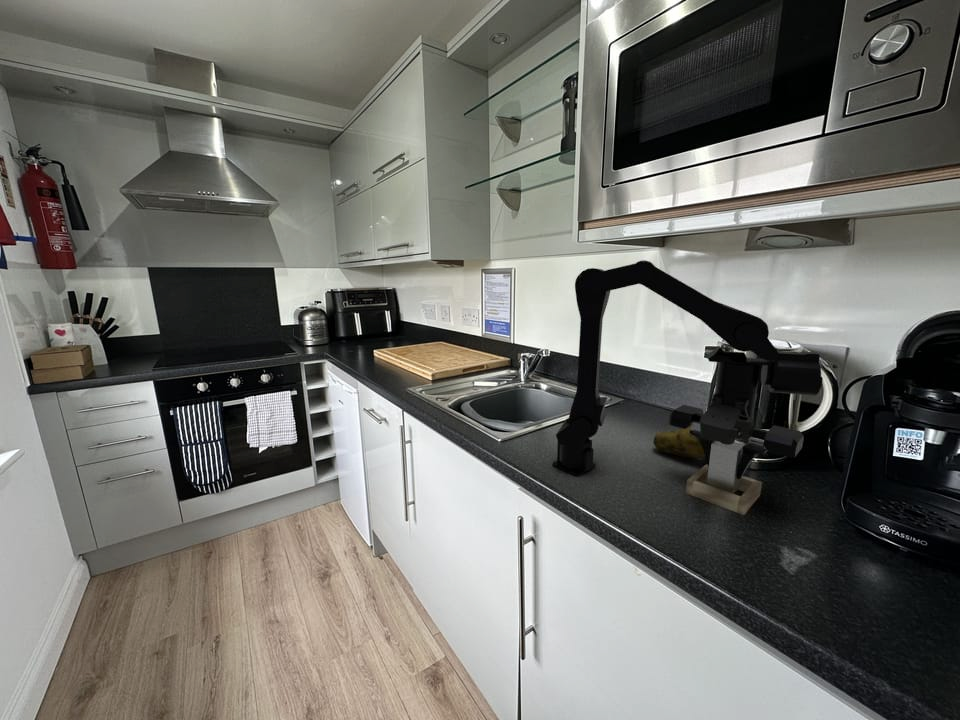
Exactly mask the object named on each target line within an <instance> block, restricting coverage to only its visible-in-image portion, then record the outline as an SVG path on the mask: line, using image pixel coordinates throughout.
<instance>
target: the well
mask: <svg viewBox="0 0 960 720" xmlns="http://www.w3.org/2000/svg"><path fill="white" fill-rule="evenodd" d="M708 469H709V468H708V464H707V463H706V464H705V465H704V466H702V467H701V468H700V469H699V470H698V471H696V472H695V473H694V474H693V475H691V476H690V477H689V478H688V479H687V480H686V489H685V494H686V495H690V496H693V497H695V498H698V499H700V500H704V501H706V502H708V503H711V504H714V505H716V506H718V507H721V508H724V509H726V510H729V511H732V512H735V513H736V514H739V515H741V516H745V515H746V514H747V512H748V511H749V510H750V508H751V507H752V506H753V505H754V503H755V502H756V501H757V500H758V499H759V497H760V496H761V492H762V485H763V482H762V481H761V480H756V479H754V478H751V477H747V476H744V475H743V476H742V477H741V481H740V487H739V488H738V489H737V490H736V491H740V492H742V495H741V496H740V495H737V494H735V493H733V494H732V493H729V492H726V491H724V490H721V489H718V488H715V487H712V486H709V485H707V477H708Z"/></svg>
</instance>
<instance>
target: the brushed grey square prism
mask: <svg viewBox="0 0 960 720" xmlns="http://www.w3.org/2000/svg"><path fill="white" fill-rule="evenodd" d="M745 444H746V443H745ZM745 444H744V443H741V442H737V441H735V442H734V443H733V444H731V445H726V444H722V443H721V442H718V441H715V442H713V443H712V444H711V452H710V461H709V469H708V477H707V482H706V484H707V485H709V486H712V487H715V488H718V489H721V490H724V491H726V492H729V493H732V494H735V493H736V491H738V490H737V489H738V488H739V487H740V481H741V478H740V479H737V471H738V468H739V464H740V460H741V457H742V453H743V450H742V447H743V446H744V445H745Z"/></svg>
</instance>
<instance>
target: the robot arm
mask: <svg viewBox="0 0 960 720" xmlns="http://www.w3.org/2000/svg"><path fill="white" fill-rule="evenodd" d="M635 285H641V286H644V287H645V288H647V289H648V290H650V291H652V292H653V293H655V294H657V295H659V296H660V297H662V298H664V299H665V300H667V301H668V302H671V303H672V304H674V305H676V306H677V307H678V308H680V309H682V310H683V311H685V312H687V313H689V314H690V315H692V316H694V317H695V318H697V319H699V320H700V321H702V323H704V324H705V325H706V326H707V327H708V328H709V329H711V330H712V331H713V333H715V334H716V335H717V336H718V337H720V338H721V339H722V340H723V341H724V342H725V343H726V344H728V345H729V346H730V347H731V348H733V349H734V350H736V351H727V350H726V351H725V350H724V349H723V348H722V346H720V345H718V346H716V348H715V349H714V350H712V351H710V352H709V353H707V354H706V359H707V360H708V362H710V363H711V362H712V363H718V368H717V377H716V378H717V379H716V385H715V393H714V394H713V395H712V399H711V403H710V405H709V406H708V408H707V409H706V411H705V412H704V410H703V408H699V407H695V406H690V405H687V404H683V405H680V406H679V407H676V408H675V409H673V410H671V411H670V412H669V415H668V423H667V424H668V425H669V426H672V427H676V428H679V429H686V428H687V427H691V426H692V430H691V431H689V432H690V434H691V435H694V436H695V437H696V438H697V439H698V440H699V441H700V443H701V445H702V448H703V451H704V454H705V457H704V458H705V460H706V464H707V465H708V468H709V461H710V452H711V444H712V443H713V442H715V441H718V442H721V443H722V444H726V445H731V444H733V443H734V442H736V440H741V439H743V440H746V441H747V442H746V443H745V445H744V446H743V447H742V450H743V453H742V457H741V460H740V464H739V468H738V471H737V479H740V478H741V477H742V476H744V474H745V473H746V471H747V469H748V467H749V466H750V464H751V463H752V461H753V460H754V458H755V456H757V455H758V454H759V455H765V454H766V453H767V452H769V453H772V454H776V455H780V456H784V457H787V458H795V457H797V455H798V454H799V452H800V451H801V450H802V449H803V445H804V444H803V443H804V437H805V436H804V434H803V433H802V432H801V431H800V430H797V429H793V428H788V427H783V426H778V425H776V424H775V425H773V426H771V428H770V429H768V430H766V429H763V428H759V427H755V421H754V419H755V417H754V413H755V406H756V401H757V399H758V398H757V397H758V394H757V391H758V387H759V385H758V384H759V378H760V382H761V385H762V386H767V389H768V391H769V393H780V394H789V395H799V396H800V395H801V396H811V397H816V396H817V395H819V392H820V390H821V388H822V384H823V376H822V368H821V364H820V357H821V355H820V354H819V353H817V352H815V351H796V352H795V351H783V350H782V351H780V350H779V351H778V348H777V347H775V346H774V345H773V343H772V342H771V341H770V340H769V335H770V332H769V325H768V324H767V322H766V321H765V320H763V318H760V317H759V316H756V315H754V314H751V313H749V312H745V311H743V310H740V309H738V308H735V307H732V306H730V305H727V304H724V303H721V302H718V301H716V300H714V299H712V298H710V297H708V296H707V295H705V294H703V293H702V292H699V291H698V290H696V289H694V288H693V287H691V286H690V285H688V284H686V283H684V282H683V281H681V280H679V279H678V278H675V277H674V276H672V275H671V274H669V273H667V272H665V271H663V270H662V269H660V268H658V267H656V265H654V263H652V262H651V261H649V260H645V259H644V260H643V259H642V260H639V261H637V262H635V263H632V264H628V265H622V266H619V267H615V268H609V269H605V270H604V269H601V268H595V267H594V268H593V267H592V268H587V269H584V270H582V271H580V273H579V274H578V275H577V276H576V279H575V281H574V291H575V297H576V298H575V299H576V305H577V310H578V313H579V317H580V323H579V343H578V359H577V360H578V361H577V363H578V364H577V378H576V379H577V382H576V391H575V394H574V398H573V400H572V404H571V407H570V411H569V416H568V418H566V419H565V420H564V422H563V423H562V425H560V428H559V429H558V431H557V432H556V434H555V436H556V440H557V446H556V447H557V449H556V450H557V451H556V456H557V457H556V460H555V461H553V462H551V466H552V467H555V468H557V469H559V470H561V471H564V472H566V473H568V474H571V475H573V476H576V477H579V476H582V474H585V473H587V472H588V471H590V470H591V469H594V468H595V467H596V463H594V453H595V452H594V451H595V450H594V448H593V440H592V439H590V438H592V437H593V436H595V435H596V434H597V433H598V430H599V428H600V427H603V424H604V422H605V420H606V416H607V412H606V404H607V399H608V397H607V396H600V395H601V394H600V391H599V390H600V389H599V379H600V378H599V377H600V364H601V347H602V333H603V332H602V331H603V321H604V320H603V319H604V315H605V312H606V309H607V306H608V302H609V298H610V294H611V291H615V290H618V289H624V288H628V287H630V286H631V287H632V286H635ZM745 352H752V353H753V354H755V355H756V356H758V357H759V358H756V357H747V355H746V354H747V353H745ZM761 366H762V367H761Z"/></svg>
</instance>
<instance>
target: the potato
mask: <svg viewBox="0 0 960 720" xmlns="http://www.w3.org/2000/svg"><path fill="white" fill-rule="evenodd" d="M691 430H692V425H691V426H689V427H687V428H686V429H683V428H680V429H679V430H664V431H660V432H657V433H656V434H655V436H654V438H653V445H654V446H655V448H657V449H658V450H659V451H662V452H664V453H669V454H672V455H675V456H679V457H681V458H689V459H691V458H693V459H694V458H706V457H705V454H704V451H703V448H702V445H701V443H700V441H699V440H698V439H697V438H696V437H695V436H694V435H691V434H690V432H689V431H691Z"/></svg>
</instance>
